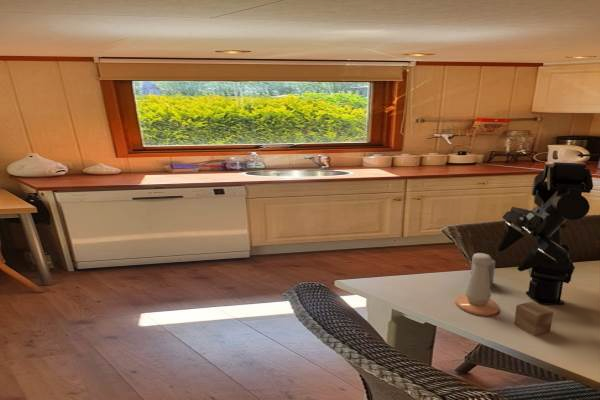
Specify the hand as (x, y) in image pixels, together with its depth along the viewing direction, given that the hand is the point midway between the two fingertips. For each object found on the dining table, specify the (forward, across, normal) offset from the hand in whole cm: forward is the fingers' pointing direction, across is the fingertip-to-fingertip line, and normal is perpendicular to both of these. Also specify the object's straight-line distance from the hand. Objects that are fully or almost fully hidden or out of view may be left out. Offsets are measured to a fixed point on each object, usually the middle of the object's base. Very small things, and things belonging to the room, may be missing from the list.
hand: (508, 260), depth 92 cm
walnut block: (+8, +14, +5) cm, 17 cm away
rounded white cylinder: (+12, -10, +8) cm, 17 cm away
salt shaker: (+13, +4, -1) cm, 14 cm away
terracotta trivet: (+14, +4, -1) cm, 14 cm away
